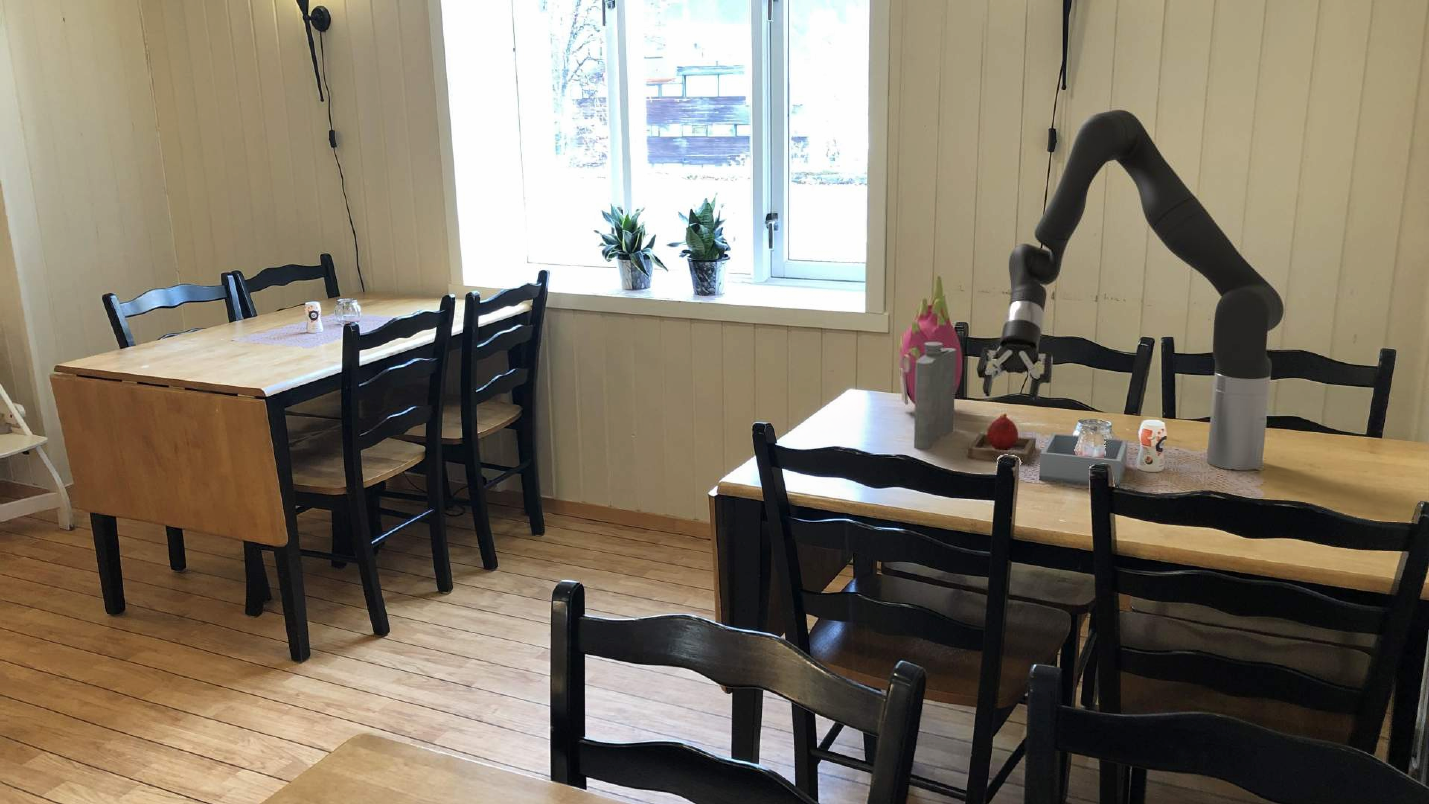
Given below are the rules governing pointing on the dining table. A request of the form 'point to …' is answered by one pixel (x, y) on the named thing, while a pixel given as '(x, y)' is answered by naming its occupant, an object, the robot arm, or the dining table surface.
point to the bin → (1078, 460)
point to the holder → (993, 454)
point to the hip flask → (934, 394)
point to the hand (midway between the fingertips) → (1009, 396)
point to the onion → (1002, 433)
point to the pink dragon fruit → (927, 328)
